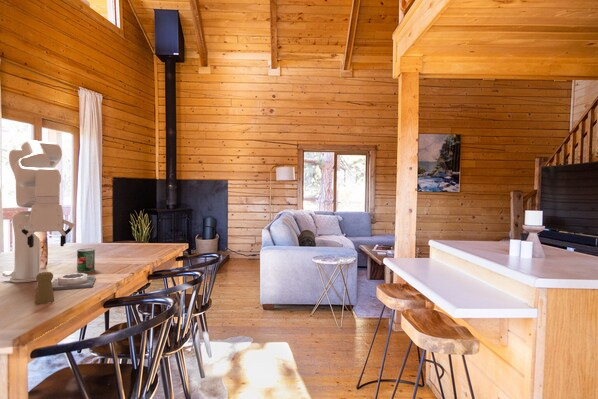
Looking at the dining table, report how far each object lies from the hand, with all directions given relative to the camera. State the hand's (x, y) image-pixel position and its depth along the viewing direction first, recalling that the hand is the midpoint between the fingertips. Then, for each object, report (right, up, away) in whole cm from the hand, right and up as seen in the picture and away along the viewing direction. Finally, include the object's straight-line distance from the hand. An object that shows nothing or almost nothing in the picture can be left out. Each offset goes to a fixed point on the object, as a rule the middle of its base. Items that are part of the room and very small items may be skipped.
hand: (47, 246), depth 134 cm
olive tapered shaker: (-1, -21, 0) cm, 21 cm away
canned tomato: (-16, -20, +50) cm, 56 cm away
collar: (-6, -20, +24) cm, 32 cm away
